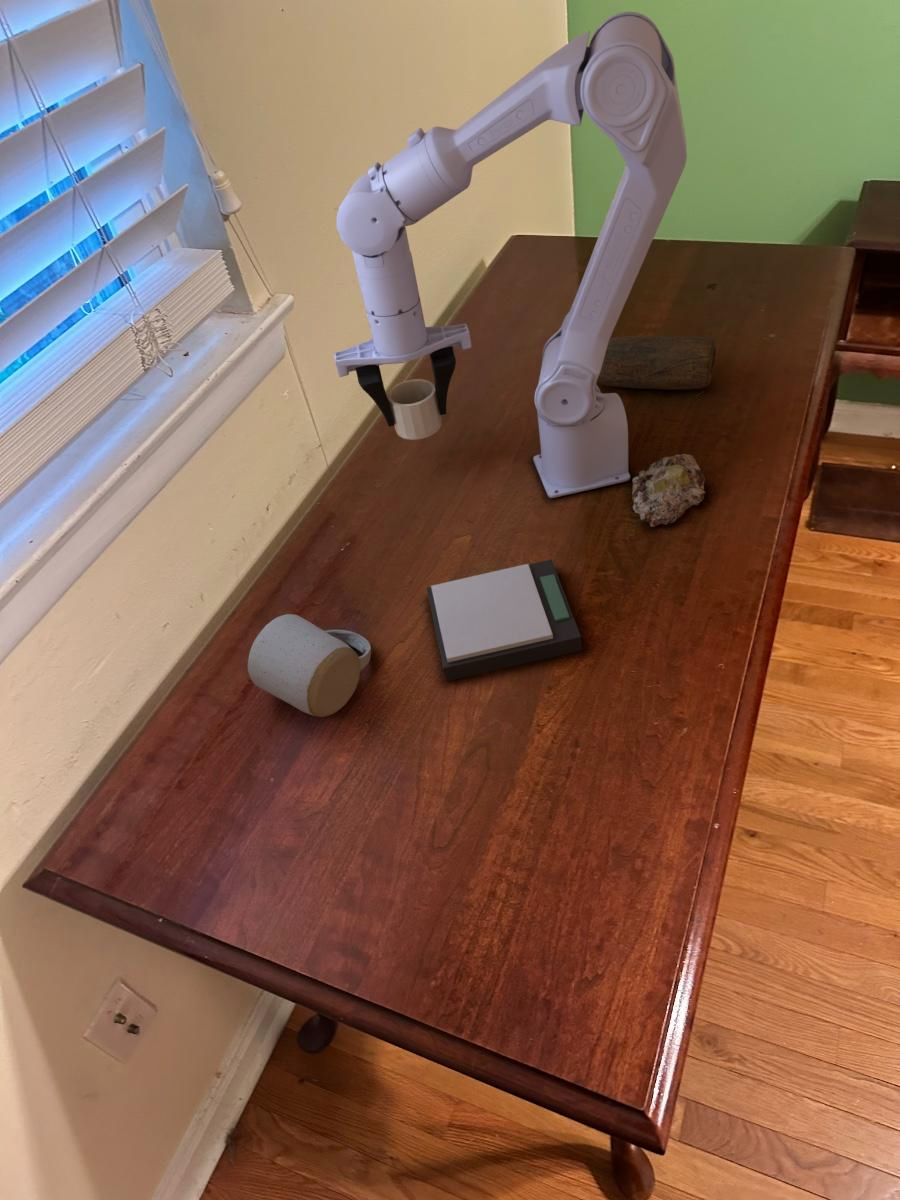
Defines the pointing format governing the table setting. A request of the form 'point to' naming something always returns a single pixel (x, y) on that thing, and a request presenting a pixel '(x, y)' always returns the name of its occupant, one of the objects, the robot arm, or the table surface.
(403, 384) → the cream cup
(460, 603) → the scale
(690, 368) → the wooden log
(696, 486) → the mineral rock
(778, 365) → the table surface
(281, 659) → the ceramic mug
